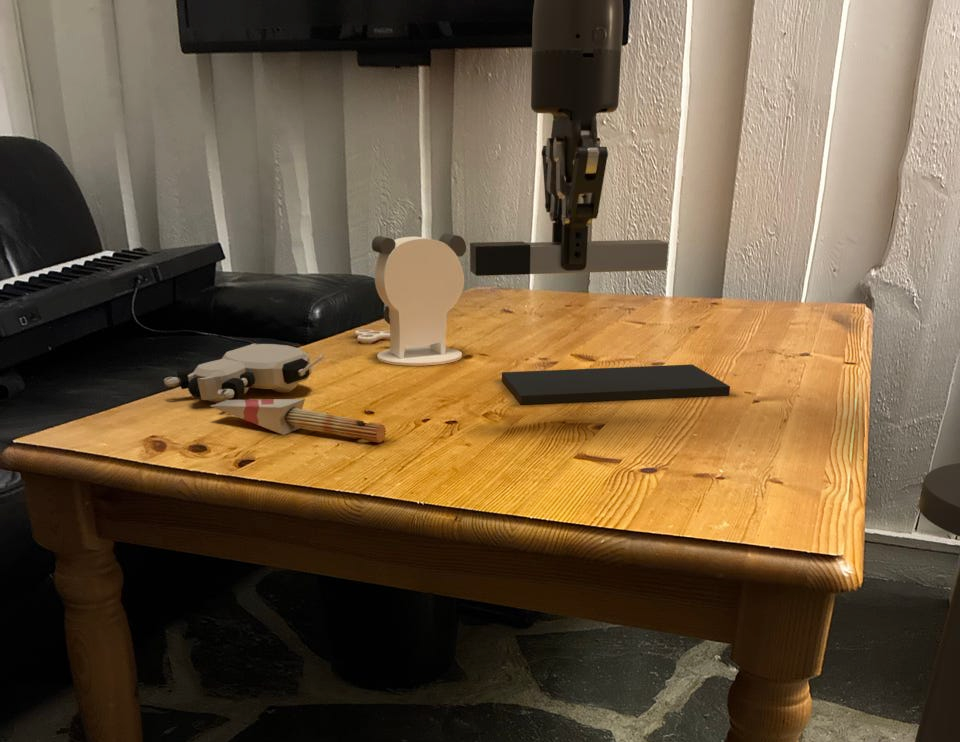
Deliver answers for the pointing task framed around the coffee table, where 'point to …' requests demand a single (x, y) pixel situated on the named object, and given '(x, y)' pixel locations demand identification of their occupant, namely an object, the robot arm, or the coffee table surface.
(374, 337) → the fidget spinner
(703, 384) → the mat
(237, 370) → the robot toy
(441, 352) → the panda figurine
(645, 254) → the black-tipped grey bar
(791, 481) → the coffee table surface
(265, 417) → the paintbrush
